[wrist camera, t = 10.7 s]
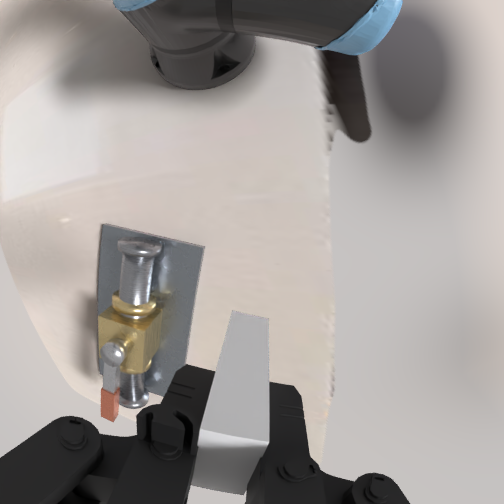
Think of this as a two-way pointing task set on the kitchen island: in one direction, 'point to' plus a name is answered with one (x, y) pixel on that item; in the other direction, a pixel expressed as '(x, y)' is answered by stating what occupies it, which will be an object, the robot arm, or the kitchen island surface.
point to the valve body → (146, 307)
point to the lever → (111, 377)
